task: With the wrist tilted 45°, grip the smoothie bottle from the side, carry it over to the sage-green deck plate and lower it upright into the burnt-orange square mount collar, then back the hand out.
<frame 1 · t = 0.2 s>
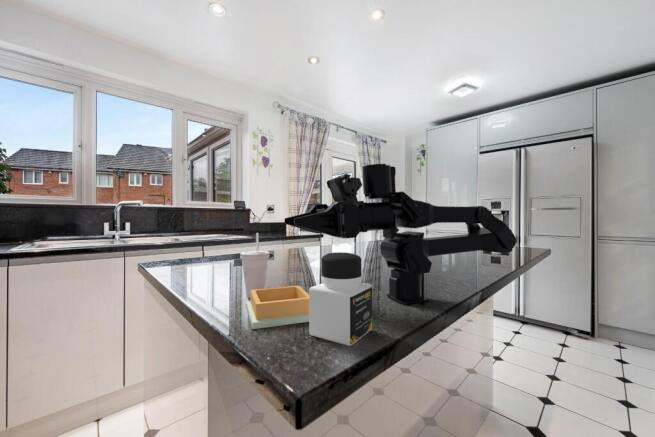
hand: (289, 221, 52), 17 cm above the counter, tool horizontal, fingers open, 9 cm apart
smoothie: (255, 297, 63), on the counter
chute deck: (280, 312, 52), on the counter
medicine bottle: (341, 333, 43), on the counter
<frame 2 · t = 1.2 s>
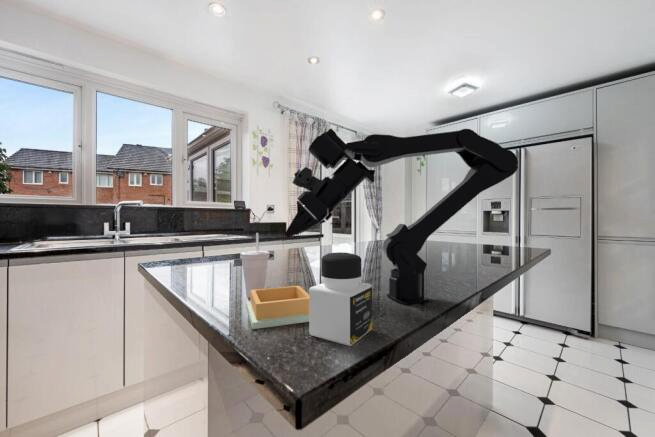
hand: (290, 234, 62), 14 cm above the counter, tool tilted 45°, fingers open, 9 cm apart
nothing on the counter moved.
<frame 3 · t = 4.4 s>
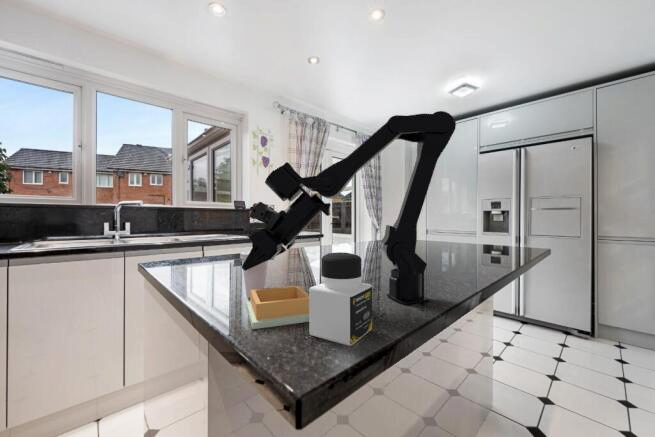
hand: (248, 266, 63), 7 cm above the counter, tool tilted 45°, fingers closed on smoothie, 6 cm apart
smoothie: (255, 296, 63), on the counter, touching gripper
everything else where it was.
when the fingers open (8 cm above the counter, at t = 9.7 s): smoothie stays where it is, resting on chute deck.
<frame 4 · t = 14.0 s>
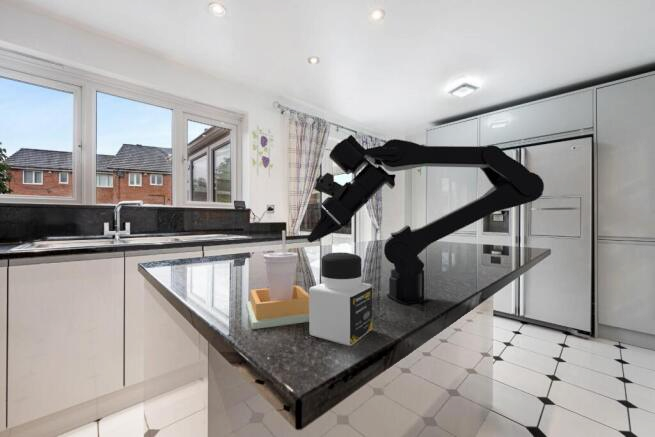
hand: (311, 239, 63), 13 cm above the counter, tool tilted 45°, fingers open, 9 cm apart
smoothie: (280, 308, 52), point 1 cm above the counter, touching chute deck
everything else where it was.
at the end: smoothie 0.2 cm off-centre on the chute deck, point 0.8 cm above the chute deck's base; smoothie tilted 0°; the gripper is holding nothing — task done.
